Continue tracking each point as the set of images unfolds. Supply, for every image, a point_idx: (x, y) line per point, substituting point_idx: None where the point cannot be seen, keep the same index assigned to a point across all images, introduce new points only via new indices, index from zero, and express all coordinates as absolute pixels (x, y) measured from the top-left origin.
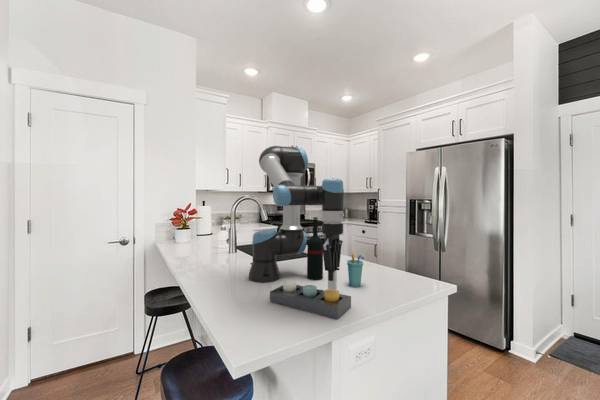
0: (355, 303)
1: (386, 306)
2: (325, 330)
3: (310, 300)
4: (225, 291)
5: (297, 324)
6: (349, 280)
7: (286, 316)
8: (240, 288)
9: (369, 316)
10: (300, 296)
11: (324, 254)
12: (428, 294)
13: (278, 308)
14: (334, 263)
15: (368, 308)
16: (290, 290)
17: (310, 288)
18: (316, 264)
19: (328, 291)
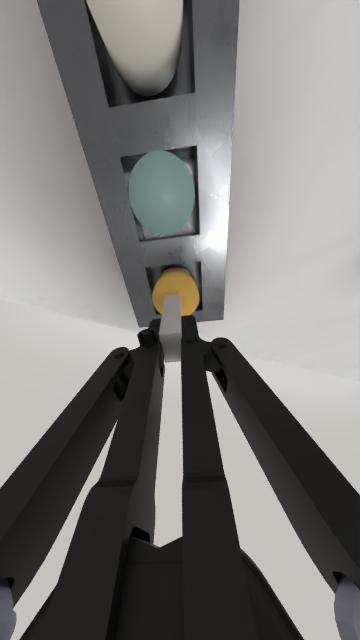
0: (244, 304)
1: (255, 350)
2: (92, 317)
3: (118, 247)
4: None
5: (56, 261)
6: None
7: (51, 201)
8: None
9: None
10: (114, 185)
11: (22, 478)
12: (346, 379)
13: (54, 112)
14: (160, 398)
15: (229, 332)
16: (116, 63)
17: (150, 213)
18: None
19: (170, 290)
